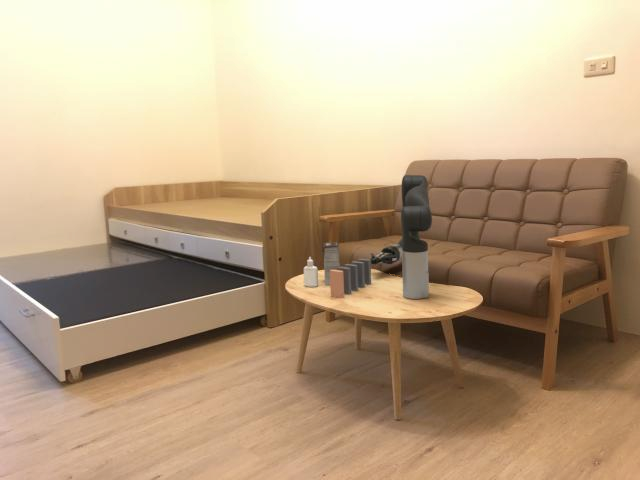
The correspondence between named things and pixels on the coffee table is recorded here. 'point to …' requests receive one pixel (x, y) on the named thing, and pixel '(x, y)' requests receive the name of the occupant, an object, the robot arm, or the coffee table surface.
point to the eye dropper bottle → (310, 274)
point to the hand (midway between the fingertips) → (372, 262)
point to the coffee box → (330, 259)
